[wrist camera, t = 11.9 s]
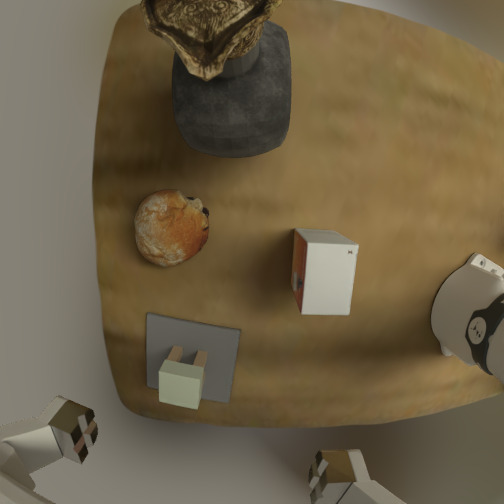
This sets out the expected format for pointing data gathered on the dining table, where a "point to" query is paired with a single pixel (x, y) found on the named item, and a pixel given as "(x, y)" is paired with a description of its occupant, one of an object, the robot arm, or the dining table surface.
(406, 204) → the dining table surface
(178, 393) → the stool
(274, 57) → the grey tall rounded piece
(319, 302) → the small box
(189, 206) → the bread roll
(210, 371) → the mat
